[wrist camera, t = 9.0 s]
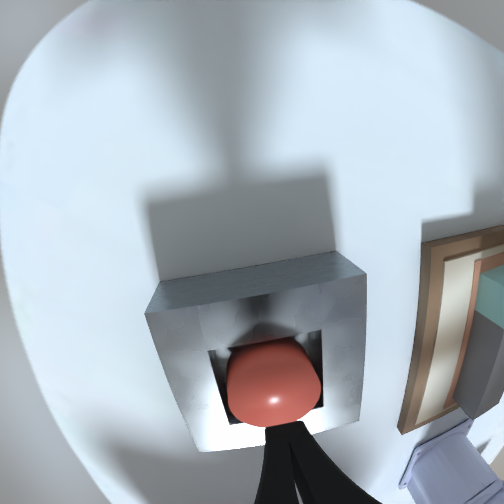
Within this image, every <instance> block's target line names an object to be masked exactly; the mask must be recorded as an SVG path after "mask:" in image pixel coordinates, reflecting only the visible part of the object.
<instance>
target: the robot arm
mask: <svg viewBox="0 0 504 504" xmlns="http://www.w3.org/2000/svg"><path fill="white" fill-rule="evenodd" d="M473 422H474V420H473V421H472V419H469V420H467V421H466V422H464V423H462V424H461V425H459V426H457V427H455V428H454V429H452V430H450V431H448V432H446V433H444V434H442V435H441V436H439V437H437V438H435V439H433V440H431V441H429V442H427V443H425V444H423V445H421V446H419V447H417V448H416V449H415V451H414V453H413V456H412V458H411V461H410V463H409V465H408V468H407V470H406V472H405V474H404V477H403V479H402V481H401V483H400V485H399V489H403V488H406V487H407V488H408V490H409V492H410V494H411V496H412V498H413V499H414V501H415V503H416V504H504V482H503V481H502V480H500V479H499V478H498V477H497V475H496V474H495V473H494V471H493V470H492V469H491V468H490V466H489V465H488V464H487V462H486V461H485V460H484V458H483V457H482V456H481V455H480V453H479V452H478V451H477V450H476V448H475V447H474V446H473V445H472V443H471V442H470V441H469V440H468V438H467V437H466V436H467V434H468V432H469V430H470V428H471V426H472V424H473ZM264 435H265V449H264V460H263V466H262V473H261V478H260V483H259V487H258V491H257V495H256V499H255V502H254V504H299V502H298V498H297V493H296V488H295V483H296V486H297V488H298V491H299V494H300V496H301V499H302V502H303V504H382V503H380V502H379V501H377V500H376V499H374V498H373V497H372V496H370V495H369V494H368V493H366V492H365V491H364V490H362V489H361V488H360V487H359V486H358V485H356V484H355V483H354V482H353V481H352V480H351V479H350V478H349V477H348V476H346V475H345V474H344V473H343V472H342V471H341V470H340V469H339V468H338V467H337V466H336V465H335V463H334V462H333V461H332V460H331V459H330V458H329V457H328V456H327V454H326V453H325V452H324V451H323V450H322V448H321V447H320V446H319V444H318V443H317V442H316V440H315V439H314V438H313V436H312V435H311V433H310V432H309V430H308V428H307V427H306V425H305V423H304V421H302V420H298V421H294V422H289V423H285V424H280V425H275V426H269V427H266V428H265V429H264ZM294 480H295V482H294Z"/></svg>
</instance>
